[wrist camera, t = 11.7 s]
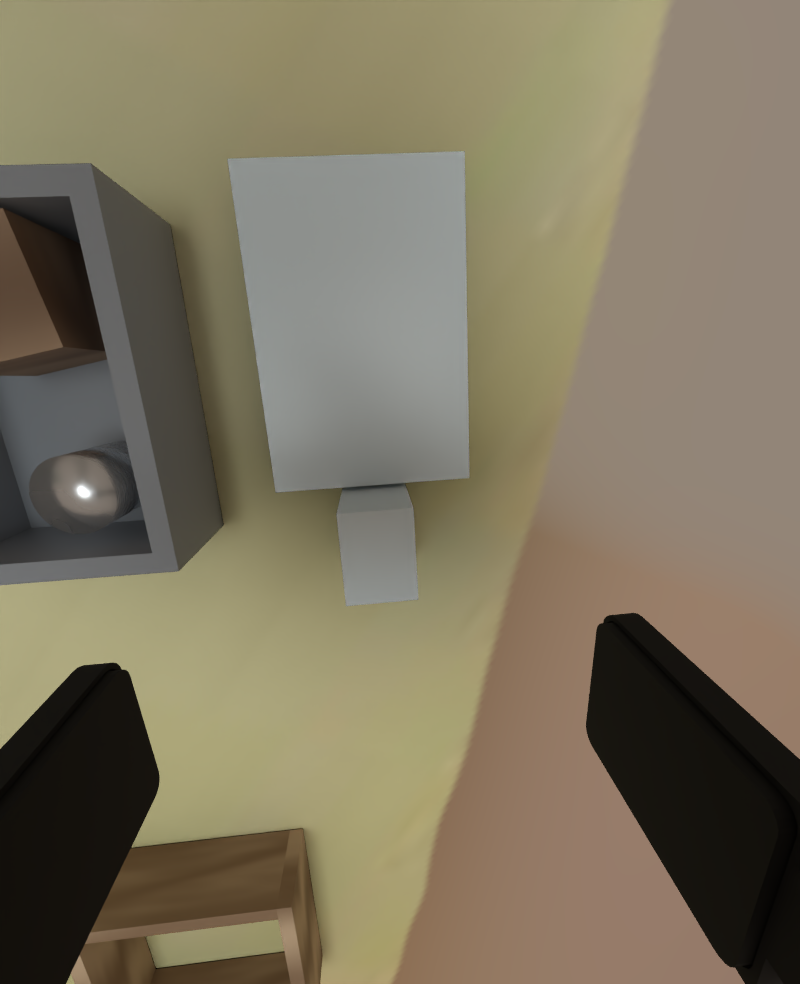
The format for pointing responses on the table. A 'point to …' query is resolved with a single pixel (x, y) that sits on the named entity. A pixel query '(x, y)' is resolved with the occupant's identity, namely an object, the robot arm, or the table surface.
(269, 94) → the table surface
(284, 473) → the lid
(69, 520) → the metal slug
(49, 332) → the walnut block
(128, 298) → the tub
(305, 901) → the frame
